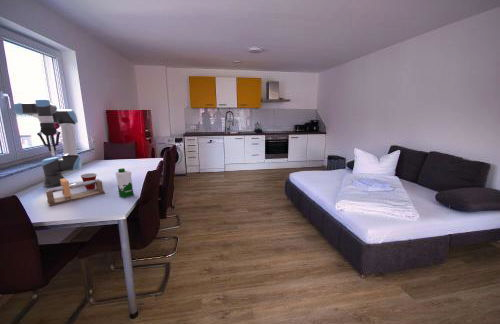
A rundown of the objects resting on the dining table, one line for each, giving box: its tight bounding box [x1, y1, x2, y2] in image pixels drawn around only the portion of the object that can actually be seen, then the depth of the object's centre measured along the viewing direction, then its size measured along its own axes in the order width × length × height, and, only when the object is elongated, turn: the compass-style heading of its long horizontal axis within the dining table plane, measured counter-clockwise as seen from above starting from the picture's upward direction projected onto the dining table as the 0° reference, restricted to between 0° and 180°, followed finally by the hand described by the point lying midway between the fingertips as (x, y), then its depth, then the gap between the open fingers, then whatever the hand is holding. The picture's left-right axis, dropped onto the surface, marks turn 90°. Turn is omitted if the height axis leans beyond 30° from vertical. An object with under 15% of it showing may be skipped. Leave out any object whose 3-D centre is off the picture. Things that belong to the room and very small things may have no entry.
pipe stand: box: [45, 179, 106, 207], centre depth 165 cm, size 12×32×9 cm, turn 138°
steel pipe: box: [48, 178, 100, 193], centre depth 164 cm, size 4×29×4 cm, turn 138°
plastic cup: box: [80, 172, 98, 191], centre depth 183 cm, size 11×11×12 cm
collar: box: [60, 177, 72, 197], centre depth 160 cm, size 11×3×11 cm, turn 48°
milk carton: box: [114, 168, 135, 199], centre depth 166 cm, size 9×9×20 cm
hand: (53, 155), depth 163 cm, fingers closed
